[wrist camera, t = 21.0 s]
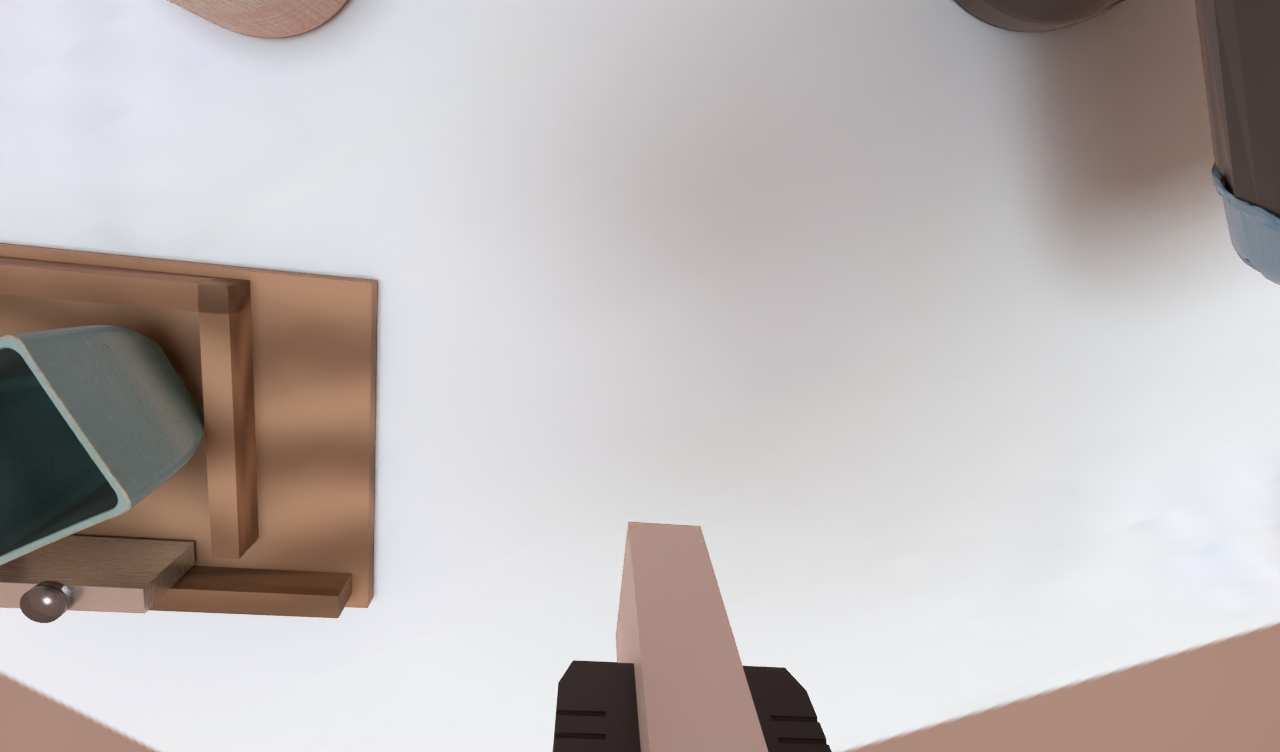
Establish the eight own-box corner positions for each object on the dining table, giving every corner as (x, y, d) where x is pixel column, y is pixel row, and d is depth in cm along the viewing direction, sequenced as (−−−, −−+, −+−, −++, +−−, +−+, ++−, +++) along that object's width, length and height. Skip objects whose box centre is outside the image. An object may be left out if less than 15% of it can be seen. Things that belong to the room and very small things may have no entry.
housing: (-42, 239, 37) (-108, 244, 33) (377, 280, 39) (357, 289, 36) (7, 580, 42) (-46, 616, 38) (372, 597, 45) (355, 632, 41)
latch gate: (30, 529, 40) (-59, 584, 34) (193, 538, 41) (133, 593, 35) (34, 559, 40) (-53, 619, 35) (195, 567, 41) (135, 626, 36)
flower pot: (255, 436, 38) (133, 510, 30) (132, 488, 40) (-18, 573, 31) (169, 295, 36) (11, 331, 28) (42, 356, 38) (-145, 407, 29)
